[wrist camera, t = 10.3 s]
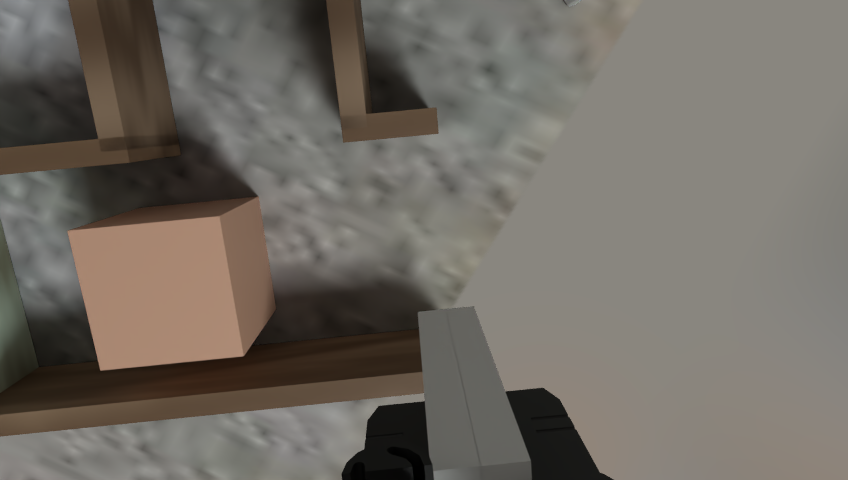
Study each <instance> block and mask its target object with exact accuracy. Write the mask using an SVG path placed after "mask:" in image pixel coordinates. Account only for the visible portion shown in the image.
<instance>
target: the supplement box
mask: <svg viewBox="0 0 848 480" xmlns="http://www.w3.org/2000/svg"><path fill="white" fill-rule="evenodd" d="M564 1H565V3H566V4H567V5H568V6H569V7H570V6H574V5H575V4H577V3H578V2H580V1H581V0H564Z"/></svg>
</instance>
